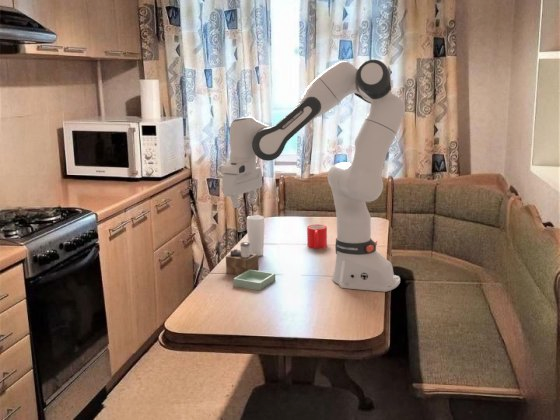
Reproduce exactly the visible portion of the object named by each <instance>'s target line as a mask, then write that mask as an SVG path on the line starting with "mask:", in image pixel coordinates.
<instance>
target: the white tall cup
mask: <svg viewBox="0 0 560 420" xmlns="http://www.w3.org/2000/svg"><path fill="white" fill-rule="evenodd" d="M246 233H247V240H248V243H250V253H252V254H258V257H260V256H264V245H265V244H264V241H265V217H264V216H263V215H259V214H255V215H248V216H247V217H246Z"/></svg>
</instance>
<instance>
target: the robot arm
mask: <svg viewBox="0 0 560 420" xmlns="http://www.w3.org/2000/svg"><path fill="white" fill-rule="evenodd" d="M391 76H392V75H391V73H390V70H389V68H388V66H387V65H386V64H385V63H384V62H383V61H381V60H378V59H368V60H366V61H364V62H362V63H361V64H360V65H359V66H358V68H356V67H355V66H354V65H353V64H352V63H350V62H349V61H346V60H345V61H344V60H342V61H341V60H340V61H339V62H337V63H335V64H334V65H332V66H330V67H329V68H327V69H326V70H325V71H323V72H322V73H321V74H319V75H318V76H317V77H316V78H315V79H314V80H313V81H312V82H310V84H309V85H308V86H307V87H306V88H305V90H304V91H303V93H302V94H301V96H300V97H301V98H300V99H299V101H298V103H297V104H296V105H295V107H294V108H293V109H292V110H291V111H290V112H289V113H287V115H285V116H284V117H283V118H282V119H281V120H280V121H278V122H277V123H276V124H275V125H273V126H272V125H271V126H270V125H268V124H265V123H262V122H261V121H259V120H257V119H255V118H254V117H253V116H243V117H237V118H236V119H233V121H231V123H230V126H229V147H230V154H229V160H228V161H227V163H225V164H224V165H222V166H221V173H222V174H223V175H222V179H221V180H222V181H221V184H222V186H221V187H222V193H223V196H224V197H229V198H230V201H231V202H232V206H233V207H232V208H234V209H238V208H240V206H241V205H240V203H241V202H240V201H239V200H238V198H239V195H242V194H245V193H249V194H248V197H247V202H248V203H249V204H252V203H254V202H255V196H256V195H257V194H256V193H257V190H258V189H260V188H262V187H263V173H262V169H261V167H260V164H259V163H258V162H257V158H259V160H262V161H266V162H267V161H268V162H269V161H270V162H271V161H273V160H276V159H277V158H279V157H280V156H281V155H282V153H283V152H284V149H285V146H286V144H287V143H288V141H290V139H291V138H293V137H294V136H295V135H296V134H297V133H298V132H299V131H300V130H302V129H303V128H304V127H305V126H306V125H308V124H309V123H310V122H311V121H313V120H315V119H317V118H319V117H320V116H322V115H323V114H326V113H327V112H329V111H330V110H332V109H333V108H335V107H336V106H337V105H338V104H339V103H341V102H342V101H343V100H344V99H345V98H346V97H347V96H349V95H352V94H353V95H355V96H356V97H357V98H359V99H361V100H363V101H364V102H366V103H368V104H370V107H369V111H368V112H367V115H366V117H365V118H364V121H363V123H362V125H361V128H360V129H359V131H358V133H357V136H356V138H355V140H354V148H355V149H354V155H353V159H352V162H349V161H345V162H344V161H343V162H342V161H341V162H337V163H335V164H333V165H332V166H331V167H330V168H329V170H328V173H327V176H326V177H327V183H328V185H329V187H330V189H331V193H332V198H333V204H334V206H335V207H334V208H335V213H336V215H335V216H336V238H335V245H334V246H335V247H334V248H335V254H336V258H335V265H334V270H333V274H332V276H331V279H332V282H334V283H336V284H337V285H339V287H340V288H341V289H352V290H361V291H371V292H383V293H385V292H389V291H392V290H394V289H396V288H397V287H399V285H400V283H401V277H400V275H396V274H395V273H394V267H393V264H392V262H390V260H388V259H387V258H386V257H385V256H383V255H382V254H381V253H380V252H379V251H377V245H378V240H376V241H374V240H373V239H372V237H371V235H372V234H371V232H372V231H371V230H372V229H371V228H372V227H371V226H372V224H371V223H372V221H371V220H372V219H371V218H372V217H371V214H370V211H369V210H368V207H367V203H370V202H373V201H375V200H377V199H378V198H379V197H380V196H381V195H382V192H383V189H384V182H383V170H384V164H385V160H386V157H387V154H388V152H389V150H390V148H391V146H392V144H393V141H394V140H395V137H396V135H397V134H398V131H399V128H400V126H401V123H402V120H403V118H404V114H405V111H406V105H405V102H404V101H403V99H402V98H401V97H399V96H398V95H396V94H393V92H392V77H391Z"/></svg>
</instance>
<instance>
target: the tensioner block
mask: <svg viewBox="0 0 560 420" xmlns="http://www.w3.org/2000/svg"><path fill="white" fill-rule="evenodd" d="M229 253H230V254H229V255H226V256H225V269H226V270H225V271H226V273H227V274H232V275H237V276H239V275H241V274H242V273H244V272H246V271H248V270H249V269H250V270H256V271H259V256H258V254H252V253H250V258H248V259H247V258H241V249H237V248H235V249H232V250H230V252H229Z"/></svg>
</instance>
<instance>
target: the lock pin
mask: <svg viewBox="0 0 560 420" xmlns="http://www.w3.org/2000/svg"><path fill="white" fill-rule="evenodd" d="M239 244H240V251H241V258H247V259H248V258H250V243H249V241H248V242H247V241H244V242H241V243H239Z"/></svg>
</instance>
